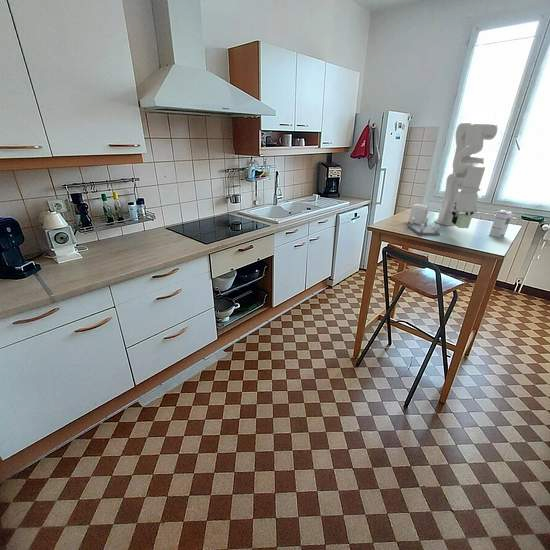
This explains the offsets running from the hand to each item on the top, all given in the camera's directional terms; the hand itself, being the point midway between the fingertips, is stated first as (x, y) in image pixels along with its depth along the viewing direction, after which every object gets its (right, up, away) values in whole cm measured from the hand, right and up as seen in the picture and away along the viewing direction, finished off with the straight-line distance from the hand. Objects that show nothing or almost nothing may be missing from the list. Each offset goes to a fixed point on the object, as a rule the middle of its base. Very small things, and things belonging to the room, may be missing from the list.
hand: (458, 223), depth 163 cm
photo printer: (-10, +5, +29) cm, 31 cm away
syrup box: (+28, -6, +9) cm, 30 cm away
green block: (0, -1, +1) cm, 1 cm away
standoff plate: (-13, -2, +14) cm, 19 cm away
